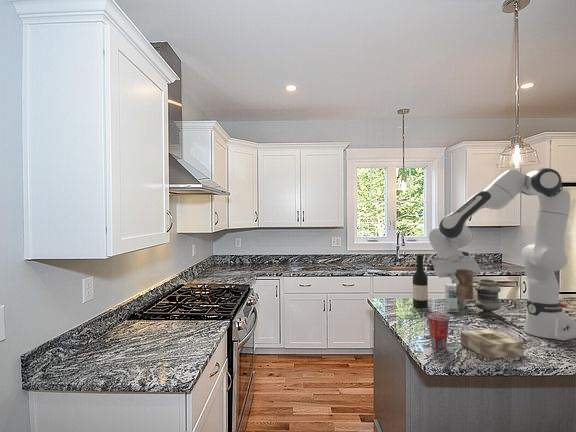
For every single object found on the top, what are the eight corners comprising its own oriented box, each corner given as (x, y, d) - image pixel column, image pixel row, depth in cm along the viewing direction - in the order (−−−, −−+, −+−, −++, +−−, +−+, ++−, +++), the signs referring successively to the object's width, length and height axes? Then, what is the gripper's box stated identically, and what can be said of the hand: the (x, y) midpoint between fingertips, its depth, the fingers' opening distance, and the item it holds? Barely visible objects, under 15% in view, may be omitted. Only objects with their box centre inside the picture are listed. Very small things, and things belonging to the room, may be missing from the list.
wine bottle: (423, 308, 198) (422, 255, 198) (409, 305, 204) (409, 253, 204) (431, 306, 203) (430, 253, 203) (417, 303, 209) (417, 252, 210)
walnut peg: (465, 296, 154) (465, 269, 154) (473, 299, 150) (472, 270, 150) (456, 297, 153) (456, 269, 153) (463, 299, 149) (463, 271, 149)
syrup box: (448, 311, 191) (447, 285, 191) (445, 309, 197) (444, 282, 197) (459, 312, 190) (459, 285, 190) (456, 309, 196) (455, 283, 196)
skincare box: (454, 304, 206) (454, 277, 206) (467, 306, 202) (467, 278, 202) (450, 307, 200) (450, 279, 200) (464, 309, 195) (463, 280, 195)
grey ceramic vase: (477, 317, 180) (476, 282, 180) (472, 311, 191) (472, 278, 191) (504, 319, 176) (503, 283, 176) (497, 312, 188) (497, 279, 188)
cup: (453, 346, 141) (452, 316, 141) (446, 352, 135) (445, 321, 135) (429, 341, 147) (429, 312, 147) (421, 346, 141) (421, 316, 141)
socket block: (492, 341, 146) (492, 329, 146) (523, 355, 131) (523, 341, 131) (460, 344, 143) (460, 331, 143) (488, 358, 128) (488, 344, 128)
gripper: (432, 254, 156) (447, 280, 147) (473, 252, 160) (489, 278, 151) (426, 263, 160) (440, 289, 151) (466, 261, 165) (482, 286, 155)
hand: (465, 283), depth 151 cm, fingers closed on walnut peg, 4 cm apart
